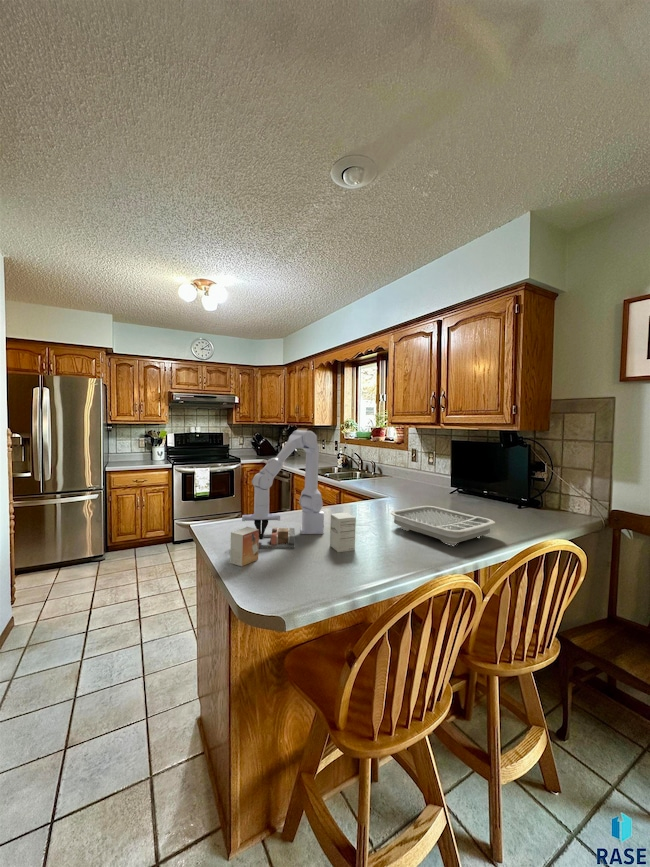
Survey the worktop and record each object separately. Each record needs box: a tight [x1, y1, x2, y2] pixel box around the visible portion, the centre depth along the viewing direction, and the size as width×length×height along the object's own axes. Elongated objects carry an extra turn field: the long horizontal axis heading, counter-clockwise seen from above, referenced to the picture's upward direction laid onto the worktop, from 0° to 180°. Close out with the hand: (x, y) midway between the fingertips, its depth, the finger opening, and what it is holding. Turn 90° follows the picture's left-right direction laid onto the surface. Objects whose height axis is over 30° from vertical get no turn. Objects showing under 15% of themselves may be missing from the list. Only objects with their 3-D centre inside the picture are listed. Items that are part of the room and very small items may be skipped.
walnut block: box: [277, 527, 289, 545], centre depth 138 cm, size 4×4×5 cm
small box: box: [229, 526, 260, 567], centre depth 118 cm, size 8×6×10 cm
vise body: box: [258, 527, 296, 550], centre depth 137 cm, size 17×13×4 cm
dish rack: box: [390, 505, 496, 545], centre depth 154 cm, size 32×37×8 cm
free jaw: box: [270, 527, 279, 545], centre depth 137 cm, size 2×10×5 cm, turn 6°
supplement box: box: [329, 512, 357, 553], centre depth 133 cm, size 7×7×13 cm
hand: (261, 538), depth 137 cm, fingers closed
